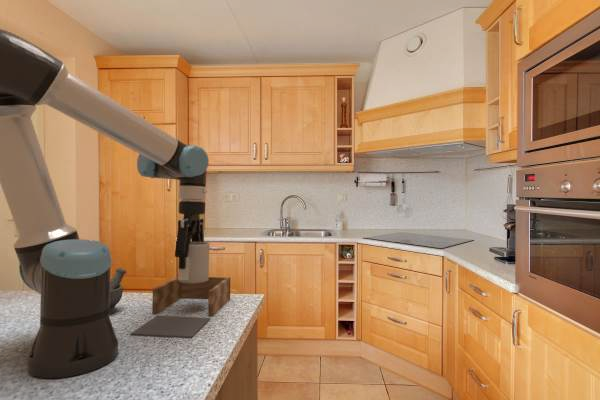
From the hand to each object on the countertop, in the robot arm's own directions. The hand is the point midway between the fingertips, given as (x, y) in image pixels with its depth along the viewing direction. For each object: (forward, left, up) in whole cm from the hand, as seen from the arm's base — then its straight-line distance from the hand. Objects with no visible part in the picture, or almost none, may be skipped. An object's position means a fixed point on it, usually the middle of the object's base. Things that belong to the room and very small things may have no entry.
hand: (189, 276), depth 103 cm
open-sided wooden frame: (+3, 0, -10) cm, 10 cm away
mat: (-15, -2, -10) cm, 18 cm away
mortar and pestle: (-6, +22, -10) cm, 25 cm away
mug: (+1, 0, -1) cm, 1 cm away
